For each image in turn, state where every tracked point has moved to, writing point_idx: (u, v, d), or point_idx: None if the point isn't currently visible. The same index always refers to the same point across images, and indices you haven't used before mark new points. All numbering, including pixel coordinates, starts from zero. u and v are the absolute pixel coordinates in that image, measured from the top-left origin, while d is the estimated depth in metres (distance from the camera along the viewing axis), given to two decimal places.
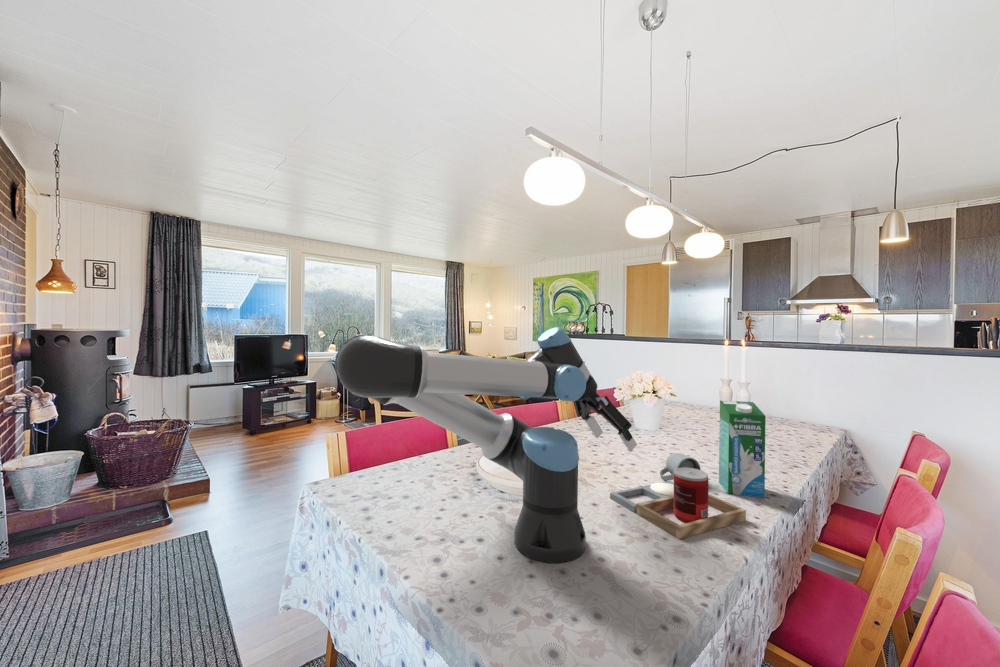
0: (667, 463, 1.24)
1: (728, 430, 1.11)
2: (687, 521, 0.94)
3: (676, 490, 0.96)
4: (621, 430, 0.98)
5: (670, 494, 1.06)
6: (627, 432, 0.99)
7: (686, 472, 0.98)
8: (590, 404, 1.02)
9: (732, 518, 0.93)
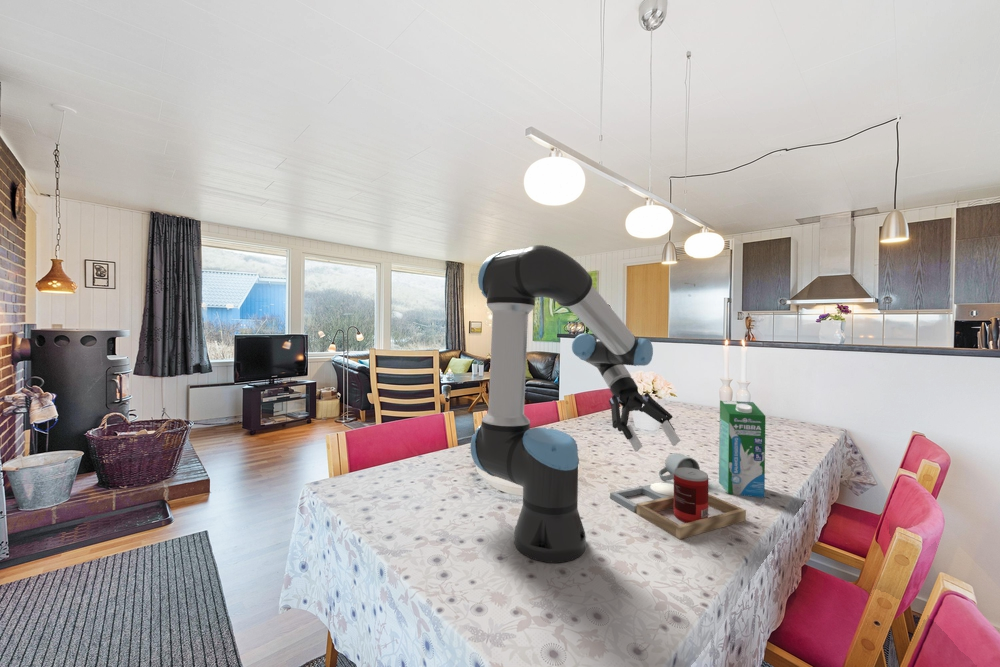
0: (666, 463, 1.24)
1: (728, 430, 1.11)
2: (687, 521, 0.94)
3: (676, 490, 0.96)
4: None
5: (670, 494, 1.06)
6: None
7: (686, 472, 0.98)
8: None
9: (732, 518, 0.93)
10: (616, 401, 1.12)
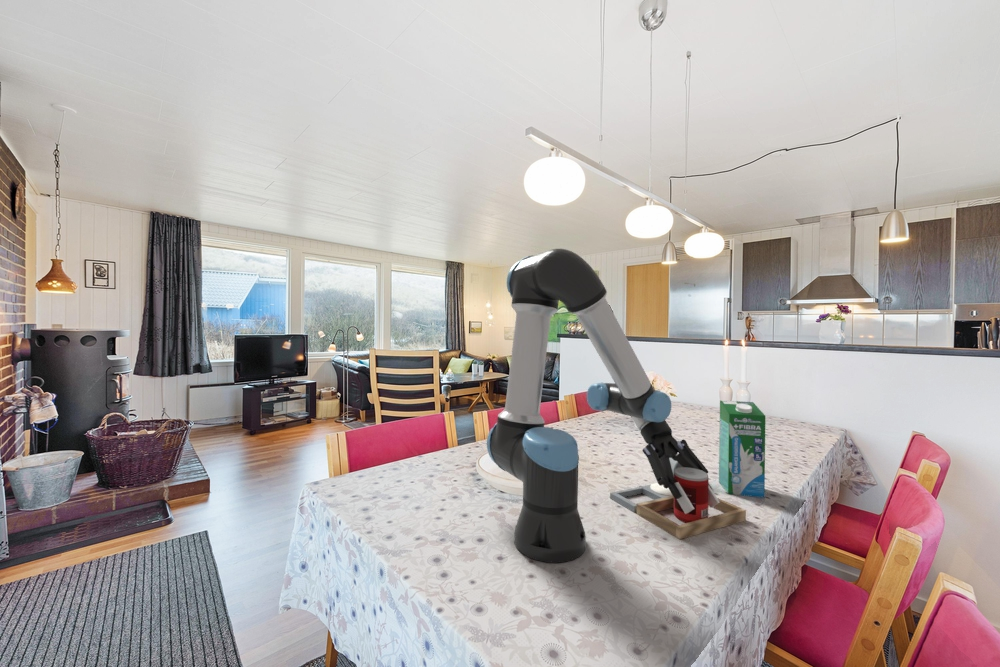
0: None
1: (728, 430, 1.11)
2: (687, 521, 0.94)
3: None
4: None
5: (670, 494, 1.06)
6: None
7: (686, 472, 0.98)
8: None
9: (732, 518, 0.93)
10: (653, 451, 1.00)
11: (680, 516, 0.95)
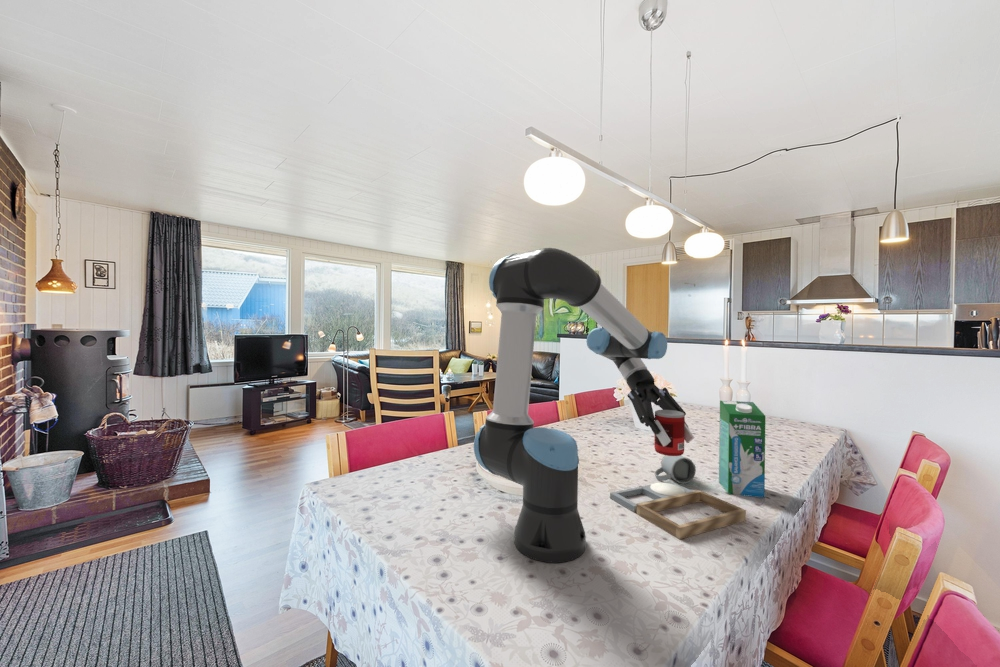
0: (662, 463, 1.24)
1: (728, 430, 1.11)
2: (665, 453, 1.06)
3: None
4: None
5: (670, 494, 1.06)
6: None
7: (665, 412, 1.10)
8: None
9: (732, 518, 0.93)
10: (636, 395, 1.12)
11: (659, 450, 1.07)
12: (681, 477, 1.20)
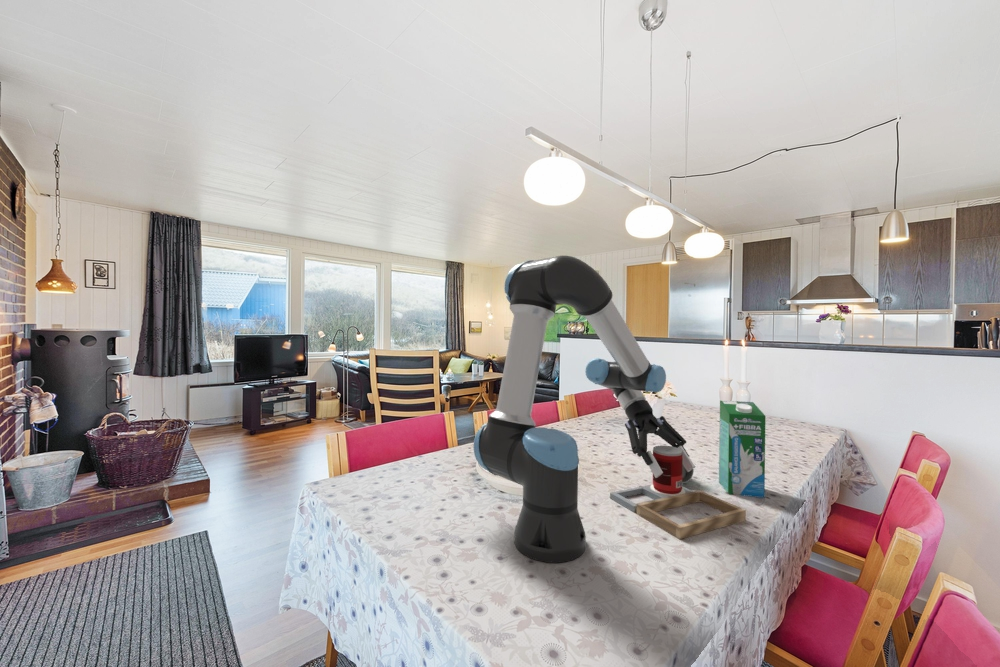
0: None
1: (728, 430, 1.11)
2: (664, 491, 1.07)
3: None
4: None
5: (670, 494, 1.06)
6: None
7: (663, 449, 1.11)
8: None
9: (732, 518, 0.93)
10: (633, 425, 1.13)
11: (658, 487, 1.08)
12: None
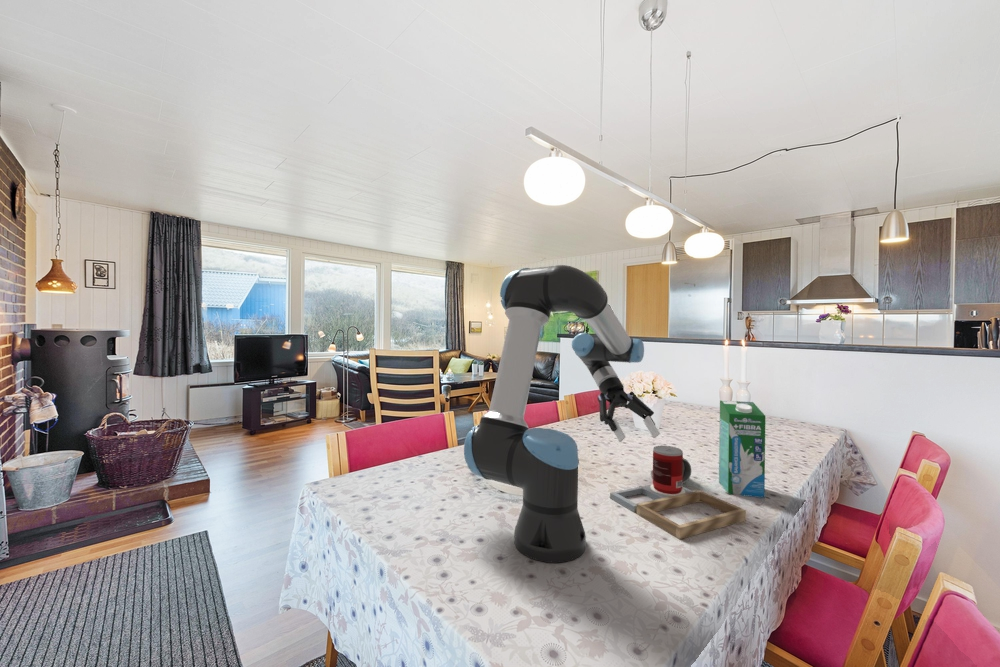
0: None
1: (728, 430, 1.11)
2: (664, 491, 1.07)
3: (654, 464, 1.09)
4: None
5: (670, 494, 1.06)
6: None
7: (664, 449, 1.11)
8: None
9: (732, 518, 0.93)
10: (603, 398, 1.26)
11: (658, 487, 1.08)
12: None
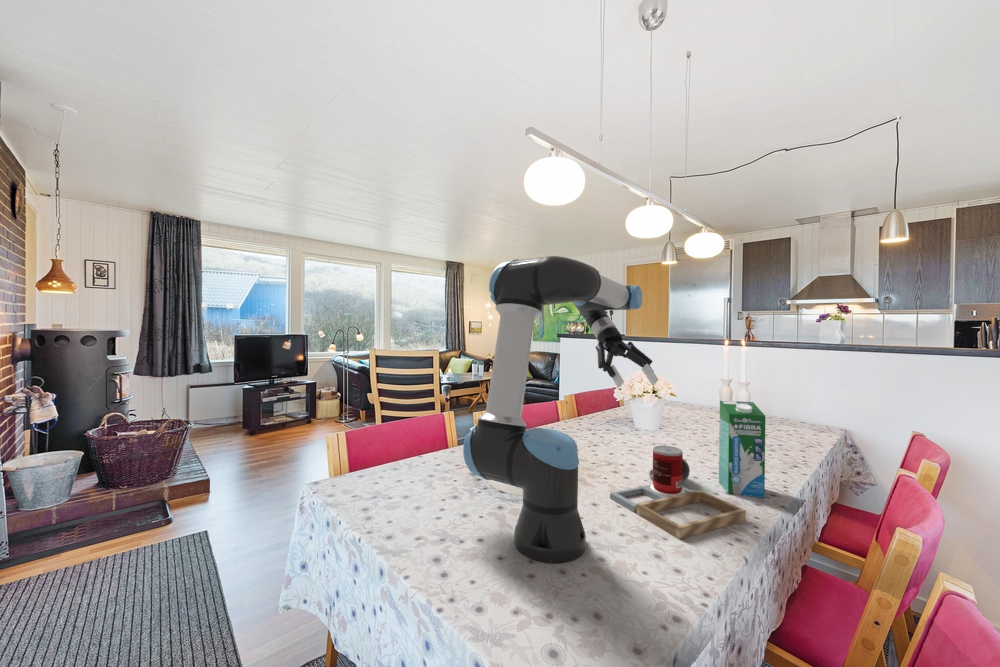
0: None
1: (728, 430, 1.11)
2: (664, 491, 1.07)
3: (654, 465, 1.09)
4: None
5: (670, 494, 1.06)
6: None
7: (663, 449, 1.11)
8: None
9: (732, 518, 0.93)
10: (602, 346, 1.25)
11: (658, 487, 1.08)
12: None
